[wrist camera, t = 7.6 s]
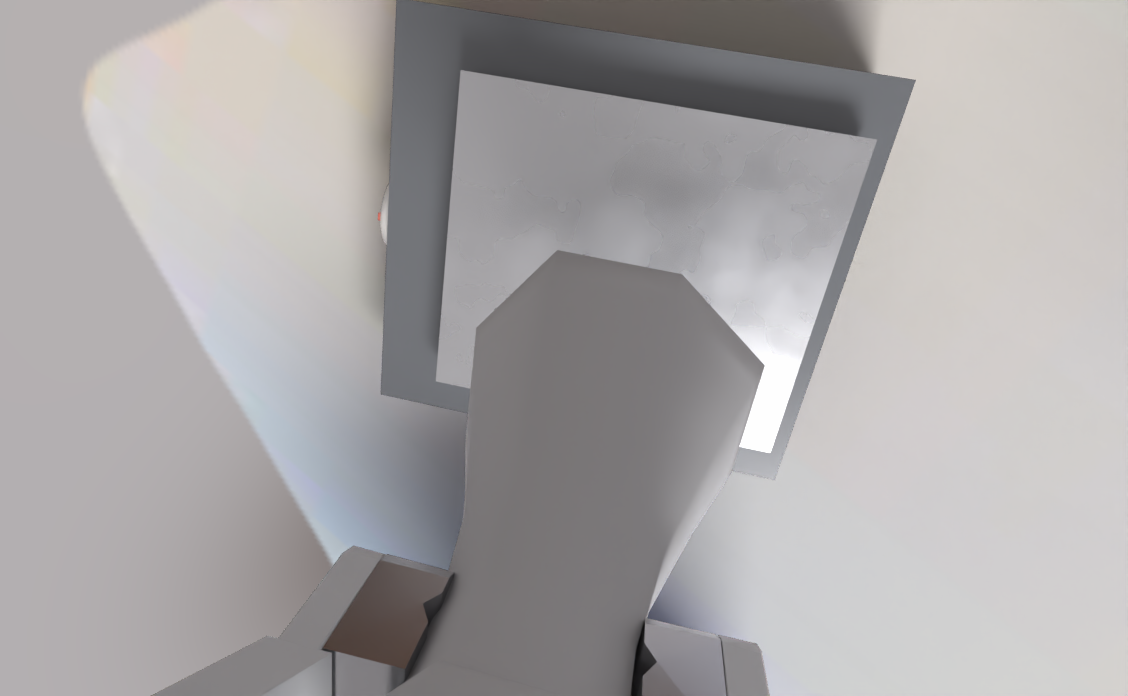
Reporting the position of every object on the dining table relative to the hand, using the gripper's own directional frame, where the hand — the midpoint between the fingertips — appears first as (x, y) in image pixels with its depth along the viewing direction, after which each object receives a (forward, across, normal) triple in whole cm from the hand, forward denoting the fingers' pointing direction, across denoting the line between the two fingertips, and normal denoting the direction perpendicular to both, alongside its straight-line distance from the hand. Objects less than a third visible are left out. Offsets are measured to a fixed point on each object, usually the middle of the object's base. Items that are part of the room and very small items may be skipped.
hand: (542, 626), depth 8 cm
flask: (+8, 0, 0) cm, 8 cm away
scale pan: (+16, 0, -1) cm, 16 cm away
